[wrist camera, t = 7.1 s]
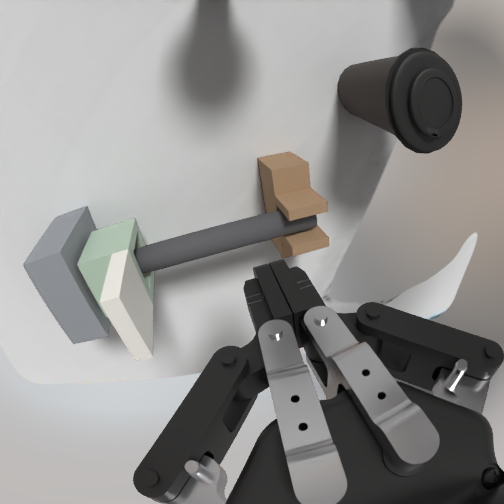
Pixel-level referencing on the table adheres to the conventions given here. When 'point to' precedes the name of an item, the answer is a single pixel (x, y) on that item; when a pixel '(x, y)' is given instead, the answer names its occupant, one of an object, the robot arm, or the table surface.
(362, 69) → the coffee cup
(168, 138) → the table surface
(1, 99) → the table surface
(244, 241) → the rod rig
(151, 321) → the white-faced green block
